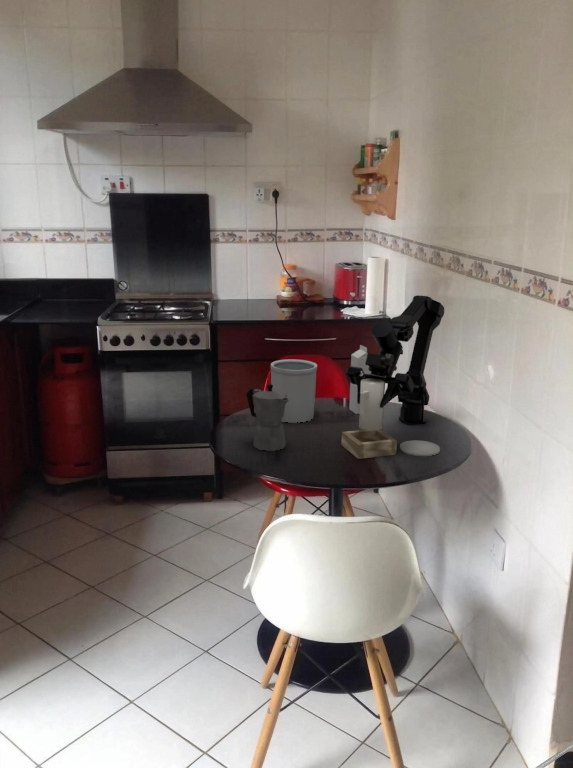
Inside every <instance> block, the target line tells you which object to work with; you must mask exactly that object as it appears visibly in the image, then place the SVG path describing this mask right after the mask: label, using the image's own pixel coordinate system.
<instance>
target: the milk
mask: <svg viewBox="0 0 573 768" xmlns="http://www.w3.org/2000/svg"><path fill="white" fill-rule="evenodd" d="M367 354H368V347H366V346H365V345H363V344H360V345H359V349H358V350H356V351H354V352H353V353H351V355H350V356H351V358H350V366H353V367H360V368H362V370H363V371H364V373H369V374H371V371H369V369H368V368H369V366H368V365H365V363H366V358H367ZM349 382H350V381H349ZM349 386H350V387H349V406H348V407H349V408H348V409H349V410H350V411H351V412H353V413H354V414H355V415H360V404H358V403H357V385H356V384H352V383H351V382H350V384H349Z"/></svg>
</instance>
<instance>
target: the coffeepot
mask: <svg viewBox="0 0 573 768" xmlns="http://www.w3.org/2000/svg"><path fill="white" fill-rule="evenodd" d="M266 387H267V390H261V389H258V388H254V387H251V388H249V389H248V391H246V394H245V395H246V400H247V403H248V408H249V411H250V415H251V417H254V418H257V423H256V426H255V427H256V428H255V432H254V438H253V442H252V443H253V444H252V446H253V447H254V449H256V448H257V449H256V450H259V451H262V450H266V451H265V452H276V450H277V451H281V450H283V449H284V448H285V447H286V445H287V444H286V436H285V430H284V424H283V422H282V418H283V416H284V410H285V404H286V403H287V402H288V401H289V399H287V395H286V394H285V393H283V392H280V391H273V390H272V388H273V385H272V384H271V383H269V384H266ZM280 449H281V450H280Z"/></svg>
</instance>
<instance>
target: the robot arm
mask: <svg viewBox="0 0 573 768" xmlns="http://www.w3.org/2000/svg"><path fill="white" fill-rule="evenodd" d="M444 315H445V307H444V305H443V304H442V303H441V302H440V301H437V300H435V299H433V298H432V297H431V296H428V295H418V294H417V295H413V297H412V301H411V302H410V303H409V304H408V305H407V306H406V308H405V309H404V310H403V311H402V313H401V314H400V315H398V316H393V317H392V318H387V317H383V318H382V319H381V321H378V322H376V323H375V324H374V325H373V326H372V328H371V334H372V335H373V339H374V340H375V342H376V345H377V346H378V347H379V348H380V349H379V351H378V352H379V353H378V354H377V353H376V354H375V353H370V352H369V353H368V352H367V353H368V354H367V358H366V363H365V365H368V366H369V368H368V369H369V371H371V374H369V373H364V371H363V370H362V368H360V367H353V366H351V365H350V366H349V367H348V368H347V369H346V371H345V375H346V377H347V379H348V380H349V382H351V383H352V384H356V385H357V403H358V404H360V389H361V380H363V379H380V380H383V381H384V384H387V386H386V388H385V390H384V396H383V398H382V401H381V404H380V407H381V408H383V409H384V407H385V406H386V405H387V404H389V402H390V401H392V400H393V399H394V398H396V397H397V400H398V401H397V402H398V403H401V406H400V413H399V414H400V415H399V417H398V419H399V420H400V421H401V422H403V423H405V424H406V425H418V424H426V423H427V421H426V420H425V419H424V415H425V406H429V402H430V394H429V392H428V389H427V381H426V379H425V375H424V373H425V370H426V369H425V368H426V364H427V361H428V354H429V350H430V346H431V341H432V338H433V333H434V330H436V329H437V328H438V327H439V326H440V324H441V322H442V318H444ZM416 324H417V326H418V328H417V332H416V336H415V339H414V340H415V341H414V345H413V351H412V354H411V359H410V362H409V367H408V370H407V371H406V372H405V373H400V372H397V369H398V367H397V365H398V361H399V358H400V356H401V355H403V354H404V349H403V347H404V346H403V345H402V343H401V342H404V343H407V342H409V341H410V339H412V337H413V335H414V326H415V325H416ZM395 372H397V373H395ZM394 373H395V376H393V374H394Z"/></svg>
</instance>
